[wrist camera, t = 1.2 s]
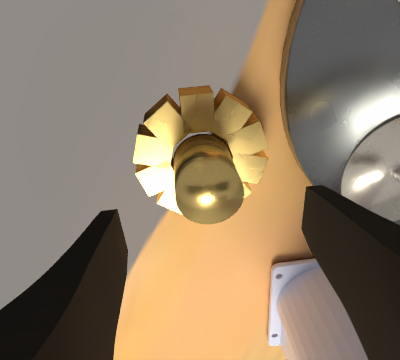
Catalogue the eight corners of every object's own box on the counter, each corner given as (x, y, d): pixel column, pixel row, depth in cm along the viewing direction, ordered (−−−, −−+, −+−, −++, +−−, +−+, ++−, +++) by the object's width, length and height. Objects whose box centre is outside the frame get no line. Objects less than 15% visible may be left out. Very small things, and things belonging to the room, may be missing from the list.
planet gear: (259, 193, 20) (285, 247, 16) (146, 206, 19) (140, 265, 15) (262, 80, 16) (297, 108, 12) (124, 93, 16) (109, 128, 12)
